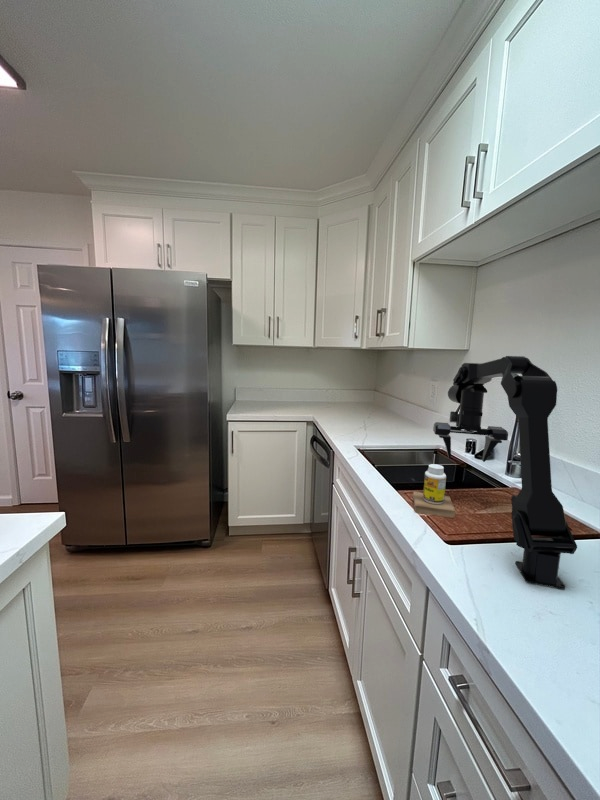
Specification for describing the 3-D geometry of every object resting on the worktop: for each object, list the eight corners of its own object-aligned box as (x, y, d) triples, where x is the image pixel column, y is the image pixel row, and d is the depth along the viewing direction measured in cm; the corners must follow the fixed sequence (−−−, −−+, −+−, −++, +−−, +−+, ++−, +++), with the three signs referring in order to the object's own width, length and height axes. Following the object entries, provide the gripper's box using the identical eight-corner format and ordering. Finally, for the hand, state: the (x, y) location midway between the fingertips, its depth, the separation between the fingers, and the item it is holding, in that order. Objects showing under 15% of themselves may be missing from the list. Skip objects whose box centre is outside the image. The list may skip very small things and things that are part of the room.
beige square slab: (454, 518, 89) (455, 511, 89) (415, 512, 92) (415, 505, 92) (448, 502, 99) (449, 496, 98) (413, 498, 101) (413, 491, 101)
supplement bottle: (418, 497, 97) (421, 463, 95) (434, 495, 98) (437, 462, 97) (431, 506, 91) (434, 470, 90) (448, 504, 93) (451, 468, 92)
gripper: (499, 405, 101) (493, 455, 103) (433, 401, 106) (429, 449, 108) (511, 410, 90) (505, 466, 92) (437, 406, 95) (433, 459, 97)
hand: (466, 459), depth 98 cm, fingers open, 9 cm apart
